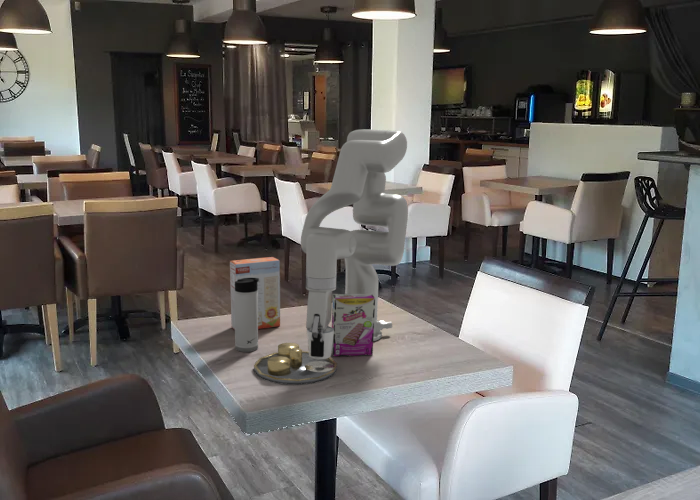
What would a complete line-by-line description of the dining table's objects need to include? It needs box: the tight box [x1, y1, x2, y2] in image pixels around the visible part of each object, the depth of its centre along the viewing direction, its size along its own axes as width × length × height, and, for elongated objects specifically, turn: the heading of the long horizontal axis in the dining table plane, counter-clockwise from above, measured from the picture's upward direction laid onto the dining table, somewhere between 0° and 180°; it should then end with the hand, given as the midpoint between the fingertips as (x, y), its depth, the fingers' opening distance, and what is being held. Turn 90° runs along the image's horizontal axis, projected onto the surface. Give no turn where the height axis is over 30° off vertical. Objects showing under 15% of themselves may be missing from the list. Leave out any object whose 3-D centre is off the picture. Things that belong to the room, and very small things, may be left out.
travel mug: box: [234, 278, 259, 353], centre depth 190 cm, size 6×7×20 cm
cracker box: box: [229, 256, 281, 331], centre depth 209 cm, size 14×6×21 cm, turn 117°
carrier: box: [253, 342, 338, 386], centre depth 177 cm, size 21×21×5 cm
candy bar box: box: [331, 293, 375, 357], centre depth 188 cm, size 11×5×16 cm, turn 100°
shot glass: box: [306, 325, 334, 359], centre depth 175 cm, size 7×7×7 cm
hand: (319, 351), depth 176 cm, fingers closed on shot glass, 6 cm apart
